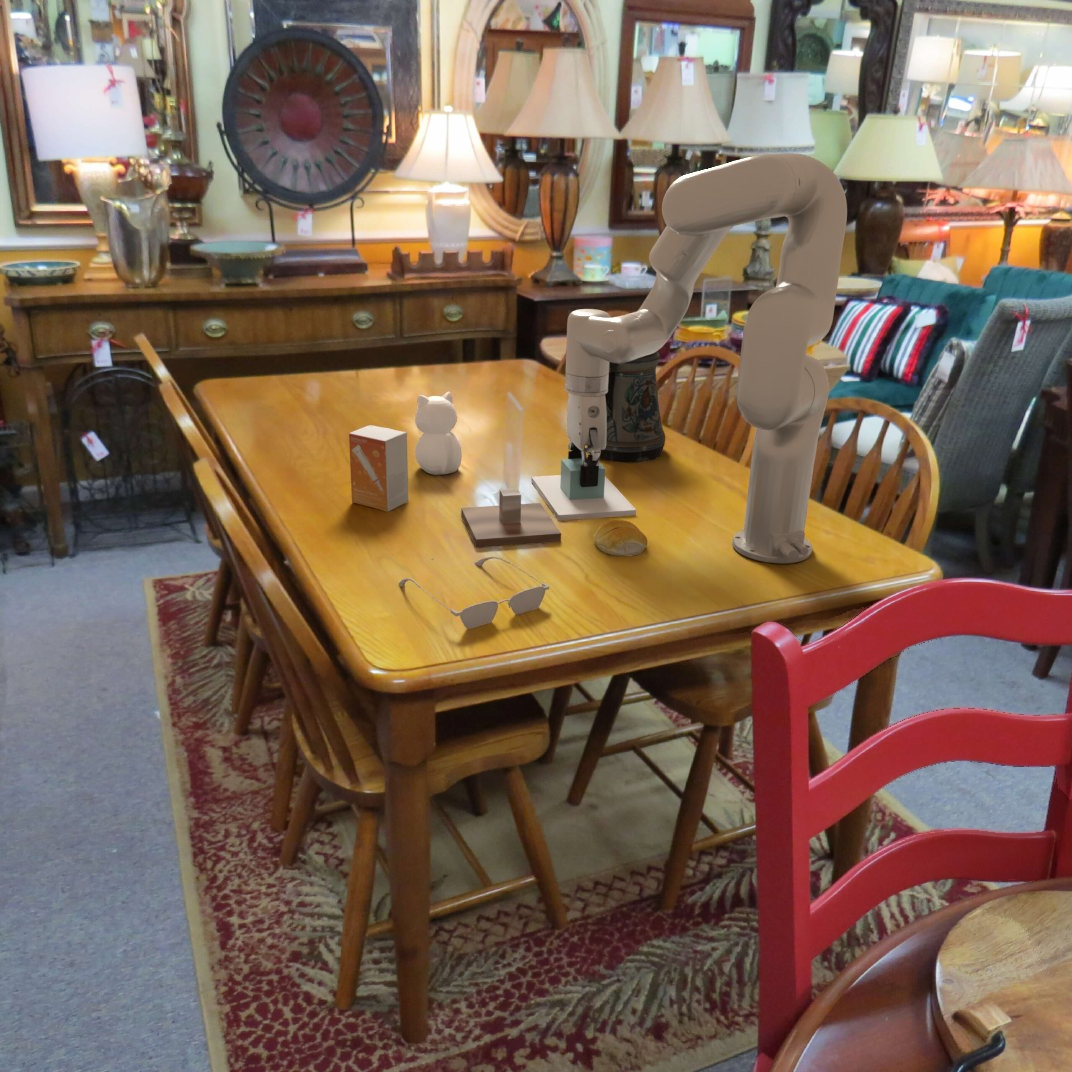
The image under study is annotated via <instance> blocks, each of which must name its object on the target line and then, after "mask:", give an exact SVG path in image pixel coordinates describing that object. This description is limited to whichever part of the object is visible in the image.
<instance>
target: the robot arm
mask: <svg viewBox="0 0 1072 1072" xmlns="http://www.w3.org/2000/svg"><path fill="white" fill-rule="evenodd" d="M845 193H846V192H845V189H844V188H843V185H842V182H841V180H840V179H839V178H838V176H837V175H836V174H835V172H834V171H833V170H832V169H831V168H829V167H828V166H827V165H826V164H825V163H823V162H822V161H820V160H818V159H816V158H814V157H812V156H811V155H806V154H804V153H803V154H802V153H793V152H783V153H764V154H757V155H752V156H749V157H748V156H747V157H745V158H742V159H737V160H733V161H731V162H728V163H725V164H721V165H717V166H714V167H711V168H708V169H703V170H700V171H695V172H692V173H688V174H684V175H682V176H680V177H679V178H677V179H675V181H673V182H672V183H671V184H670V186H669V187H668V188H667V190H666V192H665V194H664V195H663V196H664V197H663V199H662V204H661V214H662V218H663V220H664V224H665V227H664V229H663V231H662V232H661V234H660V235H659V237H658V238H657V240H656V242H655V243H654V245H653V246H652V248H651V250H650V252H649V254H648V260H649V264H650V266H651V267H652V269H653V270H654V271H655V272H656V273H655V280H654V283H653V285H652V288H651V290H650V291H649V293H648V294H647V296H646V298H645V299H644V300H643V303H642V304H641V306H640V307H639V308H638V310H637V311H633V312H631V313H626V314H623V315H619V316H614V317H612V316H611V315H610V314H609V313H608V312H606V311H605V310H600V309H594V308H583V309H582V308H581V309H576V310H573V311H571V312H570V313H569V315H568V317H567V323H566V324H567V325H566V347H565V348H566V352H565V353H566V354H565V373H564V374H565V376H564V377H565V379H564V380H565V381H564V391H565V392H566V393H567V394H568V396H567V397H568V399H567V407H566V408H567V409H566V410H567V411H566V435H567V437H568V439H569V441H568V453H567V455H568V456H567V459H578V458H582V463H583V465H581V467H580V486H581V487H595V486H597V485H598V472H599V462H600V460H601V459H600V457H599V456H600V453H601V450H604V449H605V448H606V434H607V414H606V398H605V394H606V393H607V392H608V379H609V362H612V363H626V362H629V361H632V360H635V359H638V358H640V357H643V356H646V355H650V354H652V353H655V352H656V351H657V352H658V351H659V350H660V349H662V348H663V347H664V345H665V344H666V343H667V342H668V341H669V339H670V338H671V336H672V335H673V334H674V332H675V331H676V329H677V327H678V326H679V325H680V323H681V321H682V320H683V318H684V316H685V315H686V313H687V312H688V309H689V307H690V303H691V301H692V297H693V293H694V290H695V289H694V288H695V284H696V282H697V280H698V278H699V277H700V275H701V274H702V272H703V270H704V269H705V268H706V266H707V264H708V262H709V261H710V259H711V258H712V256H713V255H714V253H715V252H716V251H717V249H718V248H719V246H720V245H721V244H722V242H723V240H724V239H725V237H726V236H727V234H728V233H729V231H730V229H731V228H733V227H736V226H740V225H744V224H748V223H752V222H758V221H763V220H768V219H775V218H782V217H786V218H787V221H788V226H787V231H786V234H785V237H784V239H783V242H782V246H781V251H780V257H779V268H778V273H777V280H776V283H775V284H776V285H775V287H774V288H772V289H771V288H770V289H769V290H767V291H766V292H765V291H764V292H763V293H762V294H760V296H759V297H757V299H755V301H754V302H753V303H752V305H751V307H750V308H749V310H748V313H747V316H746V318H745V321H744V326H743V331H742V332H743V333H742V340H741V348H740V357H739V363H738V364H739V366H738V374H737V381H736V402H737V406H738V407H737V408H738V410H739V413H740V414H741V416H742V418H743V419H744V421H745V422H747V424H749V425H751V426H752V427H753V428H756V429H755V435H754V440H753V446H752V447H753V448H752V454H751V462H750V470H749V480H748V487H747V488H748V489H747V497H746V505H745V506H746V507H745V515H744V523H743V529H742V530H739V531H738V532H736V533H735V534H734V535H733V537H732V542H731V543H732V547H733V549H734V550H735V551H736V552H738V553H739V554H741V555H743V556H744V557H747V558H749V559H752V560H755V561H758V562H764V563H770V564H795V563H798V562H802V561H805V560H807V559H808V558H810V556H811V555H812V552H813V545H812V543H811V542H810V541H809V540H808V539H807V538H806V533H805V529H806V522H807V516H808V515H807V514H808V507H809V502H810V496H811V489H812V479H813V472H814V466H815V461H816V455H817V450H818V442H819V436H820V430H821V427H822V423H823V419H824V415H825V411H826V407H827V402H828V399H829V393H830V381H829V375H828V373H827V371H826V369H825V367H824V365H823V363H821V362H820V361H819V360H818V359H817V358H815V357H813V356H812V355H810V354H807V351H808V350H807V349H808V348H809V347H811V346H813V345H815V344H817V343H818V342H820V341H821V340H823V339H824V338H825V337H826V336H827V334H829V331H830V330H831V327H832V325H833V320H834V315H835V314H834V313H835V306H836V297H837V291H838V285H839V277H840V271H841V263H842V262H841V261H842V255H843V254H842V253H843V247H844V241H845V235H846V228H847V220H848V219H847V217H848V203H847V198H846V194H845ZM587 445H591V448H587V447H586V446H587ZM589 452H591V454H590V453H589ZM587 453H589V454H588V456H587Z"/></svg>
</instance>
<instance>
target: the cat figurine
mask: <svg viewBox="0 0 1072 1072" xmlns="http://www.w3.org/2000/svg"><path fill="white" fill-rule="evenodd" d="M416 402H417V409H416V411H415V418H414V420H415V421H414V423H415V425H416V428H417V430H419V432H421V433H422V435H421V436H420V437H419V438H418V440H417V443H416V445H415V450H414V454H415V459H416V462H417V465H418V466H419V467H420V468H421V469H422V470H423V471H424V472H426V473H428V474H430V475H432V476H433V475H434V476H438V475H440V476H441V475H448V474H454V473H455V472H457V471H458V470H459V468H460V466H461V464H462V463H461V462H462V460H463V459H462V457H463V456H462V455H463V454H462V446H461V443H460V440H459V439H458V437H457V435H455V434H454V433H453V432H452V430H453V429H454V428H455V426H456V424H457V422H458V421H457V420H458V414H457V410H456V408H455V406H454V405H453V402H454V400H453V395H452V393H451V392H450V391H447V392H446V393H444V394H443V395H442V396H439V395H432V396H428V397H427V396H425V395H423V394H418V396H417V401H416Z"/></svg>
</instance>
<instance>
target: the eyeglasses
mask: <svg viewBox="0 0 1072 1072" xmlns="http://www.w3.org/2000/svg"><path fill="white" fill-rule="evenodd" d="M491 559H496V560H501V561H503V562H505V563H507V564H510V565H512V566H513V567H514V568H516V569H518V570H519V571H522V573H524V574H526V575H527V576H529V577H530V578H532V579H534V580H535V581H536V582H538V583H539V584H541V585H539V586H534V587H531V588H526V589H523V590H521V591H519V592H517V593H515V594H513V595H511V597H510V598H505V599H501V600H499V601H496V600H487V601H486V600H485V601H483V602H479V603H475V604H472V605H469V606H466V607H465V608H463V609H462V610H460V611H456V610H454V609H453V608H449V607H448V606H446V605H445V604H443V603H442V602H441V601H439V600H438V599H436V598H435V597H434V596H432V595H431V594H430V593H429V592H428V591H426V589H424V588H422V586H421V585H420V584H419V583H418V582H417V581H416V580H414V579H413V578H409V577H407V578H403V579H401V580H400V581H399V582H398V585H399V586H400V587H401V588H404V587H405V584H406V582H408V581H410V582H413V583H414V584H415V585H416V586H417V588H420V589H421V590H423V592H424V593H426V594H428V595H429V596H430V597H431V598H432V599H434V600H435V601H436V602H438V603H439V604H441V605H442V606H444V607H445V608H446V609H447V610H449V611H450V614H452V615H453V616H455V617H460V620H461V622H462V624H463V626H464V628H465V629H466V630H471V629H474V628H478V627H480V626H481V627H482V626H483V625H484V626H485V625H488V624H490V623H492V622H493V620H494V619H495V617H496V615H497V612H498V609H499V604H501V603H504V602H507V605H508V608H509V609H510V608H511V610H512V612H513V614H515V616H517V615H520V614H523V613H527V612H530V611H534V610H536V609H539V607H540V606H541V604H542V602H543V599H544V597H545V594H546V591H548V590H550V586H549V585H548V584H546V583H545V582H541V581H539V580H538V579H536V578H535V576H533V575H530V574H529V573H528V572H526V571H525V570H524V569H521V568H520V567H518V566H516V565H515V564H514V563H511V561H509V560H507V559H504V558H502V557H500V556H499V557H498V556H487V557H482V558H480V559H479V560H476V561H475V562H474V565H476V566H478V567H482V566H483V565H484V563H485V562H486V561H488V560H491Z"/></svg>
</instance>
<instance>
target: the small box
mask: <svg viewBox="0 0 1072 1072" xmlns="http://www.w3.org/2000/svg"><path fill="white" fill-rule="evenodd" d="M348 438H349V439H348V441H349V445H348V446H349V463H350V464H349V466H350V484H351V485H350V486H351V503H352V504H357V505H361V506H366V507H369V508H374V509H376V510H381V511H384V512H385V513H386V512H387V513H388V512H390V511H392V510H394V509H396V508H398V507H400V506H402V505H404V504H406V503H408V502H409V472H408V471H409V469H408V467H409V466H408V433H407V431H403V430H402V431H401V430H396V429H392V428H389V427H382V426H378V425H373V424H372V425H371V424H370V425H366V426H364V427H363V426H362V427H361V428H359V429H356V430H354V431H351V432H349V433H348Z"/></svg>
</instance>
